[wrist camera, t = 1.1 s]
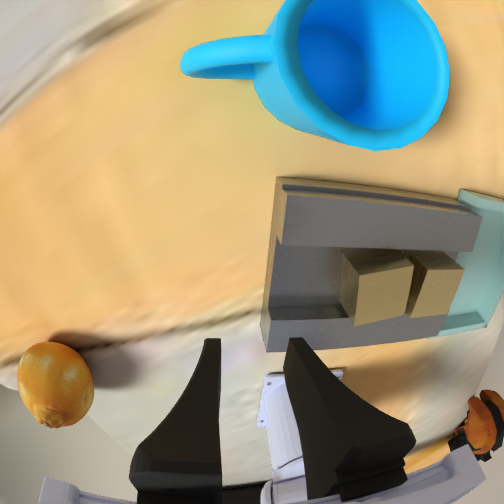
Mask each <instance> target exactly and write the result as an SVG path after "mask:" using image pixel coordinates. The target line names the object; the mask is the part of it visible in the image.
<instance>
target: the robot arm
mask: <svg viewBox="0 0 504 504" xmlns="http://www.w3.org/2000/svg"><path fill="white" fill-rule="evenodd" d="M283 371H284V374H270V375H267V376H265V378H264V384H263V390H262V396H261V402H260V408H259V413H258V419H257V427H259V428H263V427H266V431H267V437H268V443H269V449H270V455H271V461H272V466H273V469H274V470H273V471H271V473H272V479H273V480H271V481H268V482H266V484H265V486H264V488H263V489H262V491H261V504H451V503H453V502H455V501H457V500H458V499H460V498H461V497H463V496H464V495H466V494H467V493H468V492H470V491H471V490H473V489H474V488H475V487H477V486H478V485H479V484H481V483H482V482H483V481H485V479H486V477H485V475H484V473H483V471H482V469H481V467H480V465H479V463H478V461H477V459H476V458H475V456H474V454H473V452H472V450H471V448H470V446H469V445H468V444H466V445H464V446H462V447H460V448H458V449H456V450H454V451H452V452H450V453H449V454H448V455H446V456H445V457H444V459H443V460H442V461H440V462H437V463H435V464H433V465H430V466H428V467H425V468H423V469H420V470H418V471H415V472H412V473H410V474H407V475H406V473H405V471H404V468H403V466H405V461H404V459H403V458H404V457H405V456H406V455H407V454H408V453H409V451H410V450H411V449H412V448H413V447H414V445H415V443H416V439H415V437H414V434H413V432H412V430H411V428H410V427H409V425H408V424H407V423H405V422H403V421H400V420H398V419H396V418H394V417H391V416H389V415H387V414H386V413H384V412H382V411H380V410H378V409H377V408H375V407H373V406H372V405H370V404H369V403H367V402H366V401H364V400H363V399H361V398H360V397H359V396H357V395H356V394H355V393H354V392H352V391H351V390H350V389H349V388H348V387H347V386H345V385H344V384H343V383H342V382H341V379H342V376H343V371H342V370H341V369H337V370H329V369H328V367H327V366H326V365H325V364H324V363H323V362H322V361H321V359H320V358H319V357H318V356H317V355H316V353H315V352H314V351H313V350H312V348H311V347H310V346H309V345H308V343H307V342H306V341H305V339H304V338H303V337H292V338H289V342H288V347H287V352H286V357H285V361H284V366H283ZM220 392H221V338H207V339H205V340H204V346H203V350H202V353H201V356H200V359H199V361H198V364H197V366H196V368H195V371H194V373H193V375H192V377H191V379H190V381H189V383H188V385H187V387H186V388H185V390H184V392H183V394H182V395H181V397H180V398H179V400H178V401H177V403H176V404H175V406H174V407H173V408H172V410H171V411H170V413H169V414H168V415H167V416H166V418H165V419H164V420H163V421H162V422H161V423H160V424H159V426H158V427H157V428H156V429H155V430H154V431H153V432H152V433H151V434H150V435H149V436H148V437H147V438H146V439H145V440H144V441H143V442H141V443H140V444H139V445H138V447H137V449H136V451H135V453H134V456H133V458H132V462H131V465H130V473H129V479H130V481H131V483H132V484H133V485H134V487H135V488H136V489H137V491H138V495H137V502H133V501H127V500H121V499H115V498H110V497H105V496H100V495H96V494H91V493H87V492H84V491H80V490H79V489H78V488H77V487H76V486H75V485H73V484H71V483H69V482H66V481H62V480H59V479H56V478H53V477H50V476H45V477H44V482H43V486H42V490H41V494H40V499H39V504H222V466H221V451H220V436H219V407H220Z"/></svg>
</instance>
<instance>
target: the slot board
mask: <svg viewBox="0 0 504 504" xmlns="http://www.w3.org/2000/svg"><path fill="white" fill-rule="evenodd" d="M471 209H472V207H470V206H468V205H466V204H465V203H463V202H461V201H459V200H457V199H451V198H446V197H440V196H434V195H429V194H422V193H416V192H410V191H403V190H396V189H389V188H382V187H374V186H367V185H358V184H350V183H341V182H331V181H321V180H310V179H298V178H286V177H276V186H275V196H274V205H273V215H272V224H271V234H270V243H269V252H268V261H267V270H266V279H265V288H264V296H263V305H262V313H261V322H260V327H261V332H262V337H263V341H264V343H265V349H266V352H287V347H288V342H289V338H292V337H303V338H304V339H305V341H306V342H307V343H308V345H309V346H310V347H311V348H312V350H325V349H338V348H349V347H359V346H369V345H378V344H386V343H394V342H401V341H408V340H415V339H422V338H428V337H434V336H438V334H439V332H440V330H441V328H442V326H443V324H444V321H445V319H446V317H447V315H448V313H449V311H448V313H447V314H443V315H435V316H426V317H417V318H409V317H408V315H407V314H406V313H404V315H401V316H397V317H393V318H389V319H385V320H381V321H377V322H372V323H368V324H363V325H359V326H353V324H352V322H351V320H350V319H349V317H348V315H347V313H346V311H345V310H344V308H343V306H342V304H341V303H340V290H341V274H342V253H347V252H354V251H361V250H368V249H375V248H381V249H397V250H398V251H399V252H400V253H401V254H402V255H403V256H404V257H405V254H406V250H412V251H439V252H444V253H446V254H447V255H448V256H449V257H451V258H452V259H453V260H454V261H455V262H456V259H457V256H458V253H459V252H472V251H473V248H474V245H475V242H476V239H477V236H478V232H479V229H480V225H481V222H482V218H483V217H482V216H480V215H478V214H477V213H475V212H473V211H471ZM449 310H450V309H449Z"/></svg>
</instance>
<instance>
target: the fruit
mask: <svg viewBox="0 0 504 504" xmlns="http://www.w3.org/2000/svg"><path fill="white" fill-rule="evenodd" d="M17 382H18V388H19V392H20V395H21V398H22V400H23V402H24V404H25V405H26V407H27V408H28V409H29V411H30V412H31V413H32V414H33V415H34V416H35V418H36V420H37V421H38V423H41V424H44V425H45V426H48V427H50V428H59V427H61V426H70V425H73V424H75V423H76V422H78V421H79V420H80V419H82V418H83V416H85V414H86V413H87V412H88V410H89V408H90V407H91V405H92V402H93V398H94V385H93V379H92V375H91V372H90V370H89V367H88V365H87V364H86V362H85V361H84V359H83V358H82V357H81V356H80V355H79V354H78V353H77V352H76V351H75V350H73V349H72V348H70V347H68V346H66V345H64V344H60V343H56V342H42V343H38V344H36V345H33V346H32V347H30V348H29V349H28V350H27V351H26V352H25V353H24V354H23V356H22V357H21V360H20V363H19V366H18V372H17Z"/></svg>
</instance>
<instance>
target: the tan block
mask: <svg viewBox="0 0 504 504" xmlns="http://www.w3.org/2000/svg"><path fill="white" fill-rule="evenodd" d="M413 269H414V265H413V264H412V263H411V262H410V261H409V260H408V259H407V258H405V257H404V256H403V255H402V254H401V253H400V252H399V251H398V250H397V249H381V248H375V249H368V250H361V251H354V252H347V253H342V274H341V290H340V303H341V304H342V306H343V308H344V310H345V311H346V313H347V315H348V317H349V319H350V320H351V322H352V324H353V326H359V325H363V324H368V323H372V322H377V321H381V320H385V319H389V318H393V317H397V316H401V315H404V313H405V309H406V305H407V300H408V295H409V290H410V285H411V280H412V275H413Z"/></svg>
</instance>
